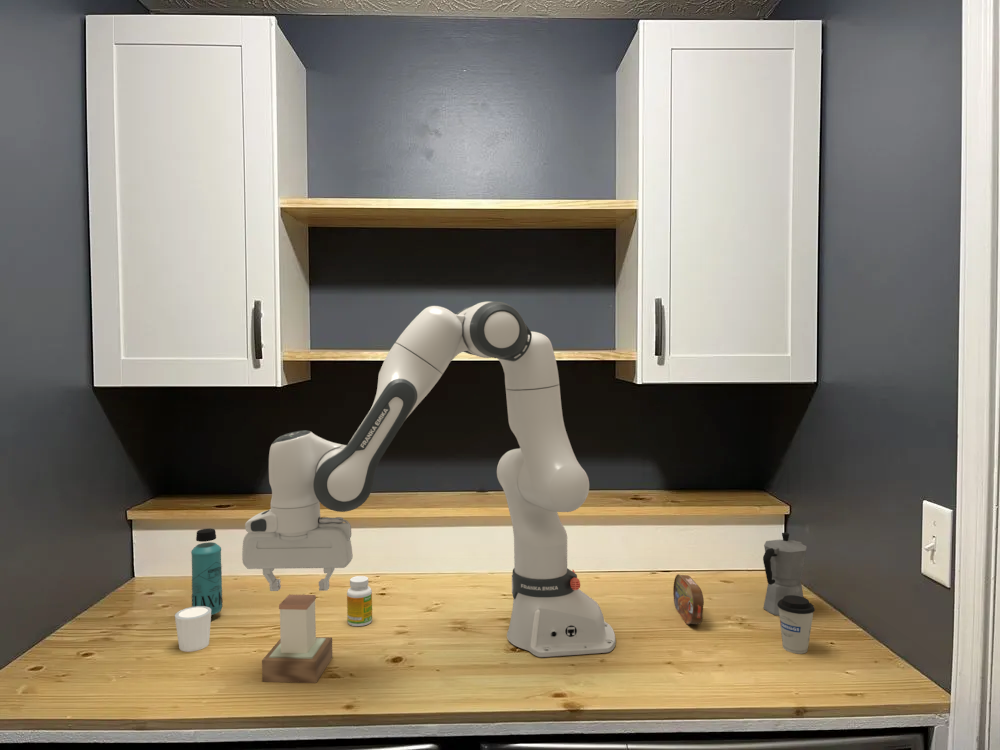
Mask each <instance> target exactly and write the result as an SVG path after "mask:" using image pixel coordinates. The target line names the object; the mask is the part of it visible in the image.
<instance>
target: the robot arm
mask: <svg viewBox="0 0 1000 750" xmlns="http://www.w3.org/2000/svg"><path fill="white" fill-rule="evenodd" d="M552 344H553V343H552V342H551V340H550V338H548V337H547V336H546V335H545V334H543V333H541V332H538V331H531V329H530V328H529V327H528V325H527V323H526V322H525V320H524V319H523V317H522V315H521V314H520V313H519V311H518V310H517V309H516V308H515V307H514V306H512V305H510V304H509V303H506V302H503V301H482V302H478V303H476V304H474V305H469V306H468V307H465V308H463V309H461V310H460V311H458V312H455V313H454V312H452V311H451V310H449V309H448V308H446V307H443V306H440V305H429V306H427V307H425V308H424V309H423V310H422V311H421V312H420V313H419V314H417V315H416V316H415V318H413V320H412V321H411V322H410V323H409V324H408V325H407V326H406V328H405V329H404V330H403V331H402V332H401V333H400V335H399V336H398V338H397V339H396V341H395V342H394V343H393V345H392V346H391V348H390V350H389V352H388V353H387V354H386V357H385V359H384V360H383V363H382V364H381V365H382V366H381V367H380V369H379V372H378V377H377V378H378V379H377V386H376V387H377V389H376V394H375V396H374V400H373V403H372V406H371V408H370V410H369V411H368V412H367V414H366V415H365V417H364V419H363V420H362V422H361V424H359V426H358V427H357V430H356V431H355V432H354V434H353V435H352V437H351V439H350V440H349V442H348V443H347V444H341V443H337V442H333V441H330V440H327V439H325V438H323V437H320V436H318V435H317V434H315V433H313V432H312V431H310V430H297V431H292V432H289V433H285V434H283V435H280V436H279V437H277V438H275V440H274V441H273V442H272V443H271V445H270V447H269V454H268V481H269V485H270V488H271V498H270V499H271V500H270V509H267V510H264V511H262V512H259V513H257V514H255V515H253V516H252V517H251V518H249V519H248V520H247V521H246V522H245V523H244V529H245V531H246V532H247V533H246V534H245V535H244V537H243V540H242V553H241V556H242V557H241V558H242V564H243V566H244V567H245V568H246V569H248V570H261V569H262V575H263V576H264V578H265V580H266V581H267V582H268V583H269V591H270V592H279V591H280V590H281V585H282V584H281V578H276V576H275V574H274V572H273V571H274V570H275V569H276V570H277V569H281V570H282V569H283V570H285V569H323V573H324V574H326V575H325V577H324V578H321V579H320V580H318V591H319V592H322V591H325V592H327V591H329V589H330V579H331V577H332V575H333V573H334V572H335V569H345V568H346V567H348V566H349V564H350V563H351V562H352V560H353V547H352V540H351V537H352V526H351V523H350V522H349V521H348V520H346V519H344V518H343V517H342V516H341V517H340V516H337V517H329V516H328V517H327V516H326V517H321V505H322V506H324V507H325V508H326V509H328V510H330V511H333V512H337V513H338V512H339V513H342V512H343V513H345V512H350V511H354V510H356V509H357V508H358V509H359V507H361V506H362V505H363V504H365V502H366V501H367V500H368V498H369V497H370V495H371V492H372V489H373V484H374V479H375V473H376V469H377V467H378V465H379V462H380V460H381V459H382V458H383V456H384V454H385V453H386V451H387V449H388V448H389V446H390V445H391V443H392V441H393V440H394V438H395V437H396V435H397V434H398V432H399V430H400V429H401V427H402V426H403V424H404V422H405V421H406V420H407V418H408V417H409V416H410V415H411V414H412V413H413V412H414V410H416V408H417V407H418V405H419V404H421V403H422V401H423V400H424V399H425V397H427V396H428V394H429V393H430V392H431V390H432V389H433V388H434V387H435V385H436V384H437V383H438V382H439V380H440V379H441V377H442V376H443V375H444V373H445V371H446V370H447V368H448V367H449V364H450V363H451V362H452V361H453V360H454V359H455V358H456V357H458V355H460V354H461V353H465V354H468V355H471V356H476V357H479V358H484V359H489V358H490V359H491V358H493V359H497V360H498V361H499V362H500V365H501V366H502V369H503V373H504V385H505V394H506V395H505V396H506V407H507V408H506V409H507V419H508V425H509V428H510V430H511V432H512V433H513V435H514V436H515V438H516V440H517V444H518V445H519V448H513V449H510V450H508V451H506V452H505V453H504V454H503V455H502V456H501V457H500V459H499V461H498V464H497V467H496V477H497V480H498V482H499V484H500V486H501V487H502V490H503V493H504V495H505V499H506V503H507V508H508V512H509V516H510V520H511V524H512V530H513V531H512V533H513V547H514V548H513V552H514V553H513V555H514V557H513V559H514V560H513V561H514V562H513V563H514V566H513V567H514V568H513V569H512V574H511V595H512V599H513V601H512V609H511V616H510V621H509V626H508V630H507V632H506V638H507V640H508V641H509V643H511V644H512V645H514V646H515V647H518V648H520V649H522V650H526V651H528V652H530V653H531V654H532V655H533V656H536V657H538V658H549V657H550V658H551V657H562V656H563V657H564V656H565V657H566V656H576V655H577V656H578V655H588V654H589V655H590V654H601V653H602V654H605V653H610V652H611V651H612V650H614V649H615V646H616V634H615V630H614V629H613V627H612V626H611V624H609V623H608V622H606V621H605V619H604V618H605V617H604V613H603V611H602V608H601V607H600V605H599V604H598V602H597V601H595V599H593V598H592V597H590V595H588V594H586V593H585V592H583V591H582V590H581V589H580V588H581V580H580V579H579V578H578V574H576V572H575V570H574V569H569V568H568V535H567V530H566V529H565V527H564V525H563V523H562V522H561V519H560V517H559V514H558V513H571V512H574V511H576V510H578V509H579V508H581V507H582V506H583V505H584V503H585V502H586V500H587V498H588V496H589V491H590V481H589V476H588V474H587V472H586V471H585V469H584V468H583V467H582V466H581V464H580V463H579V461H578V460H577V457H576V455H575V453H574V450H573V448H572V445H571V442H570V439H569V436H568V433H567V431H566V430H567V429H566V426H565V422H564V416H563V409H562V408H563V407H562V399H561V386H560V377H559V376H560V375H559V370H558V364H557V360H556V356H555V351H554V348H553V345H552ZM320 504H321V505H320Z"/></svg>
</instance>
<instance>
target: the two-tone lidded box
mask: <svg viewBox="0 0 1000 750" xmlns="http://www.w3.org/2000/svg"><path fill="white" fill-rule="evenodd" d="M316 598H317V595H316V594H288V595H287V596H286V597H285V598H284V599H283V600H282V601H281V602H280V603H279V604H278V609H279V626H280V627H279V628H280V630H279V631H280V632H279V633H280V639H281V653H308V651H309V650H310V649H311V647H312V646H313V645H314V643H315V642H316V637H317V633H316V629H317V627H316V626H317V625H316V623H317V621H316ZM280 639H279V640H280Z"/></svg>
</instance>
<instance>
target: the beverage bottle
mask: <svg viewBox="0 0 1000 750" xmlns="http://www.w3.org/2000/svg"><path fill="white" fill-rule="evenodd" d="M216 539H217V535H216V529H215V528H202V529H199V530H197V531H196V537H195V541H196V542H200V543H198V544H197V545H195V547H193V549H192V550H191V551H190V553H191V596H190V597H191V607H195V606H206V607H209V608H211V616H212V615H216V614H217V613H220V612H221V611H222V609H223V607H224V606H223V601H224V598H223V587H222V585H223V579H222V574H223V573H222V572H223V570H222V566H223V564H222V547H221V546H220V545H219V544H218V543H216V542H214V540H216ZM212 541H213V542H212ZM201 542H202V543H201Z"/></svg>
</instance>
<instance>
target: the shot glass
mask: <svg viewBox="0 0 1000 750" xmlns="http://www.w3.org/2000/svg"><path fill="white" fill-rule="evenodd" d="M211 617H212V615H211V608H209V607H206V606H195V607H192V606H191V607H185V608H184V609H180V610H179V611H177V612H175V614H174V620H175V628H176V634H177V643H178V648H179V650H180V651H182V652H188V653H190V652H196V651H199V650H202V649H205V648H206V647H208V646H209V645H210V635H211V633H210V632H211V621H212V618H211Z"/></svg>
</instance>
